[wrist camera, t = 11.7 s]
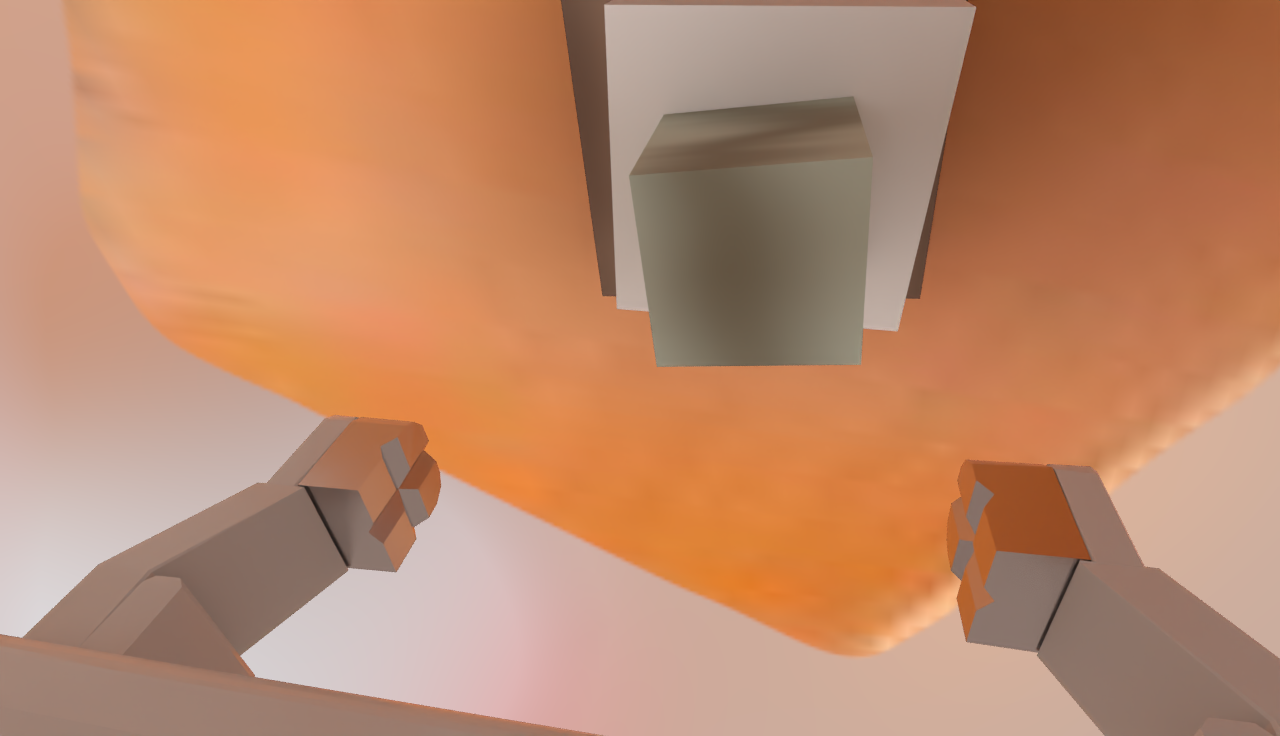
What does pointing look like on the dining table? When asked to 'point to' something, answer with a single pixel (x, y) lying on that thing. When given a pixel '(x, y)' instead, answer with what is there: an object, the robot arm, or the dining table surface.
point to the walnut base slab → (591, 100)
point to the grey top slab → (792, 72)
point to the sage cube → (756, 234)
